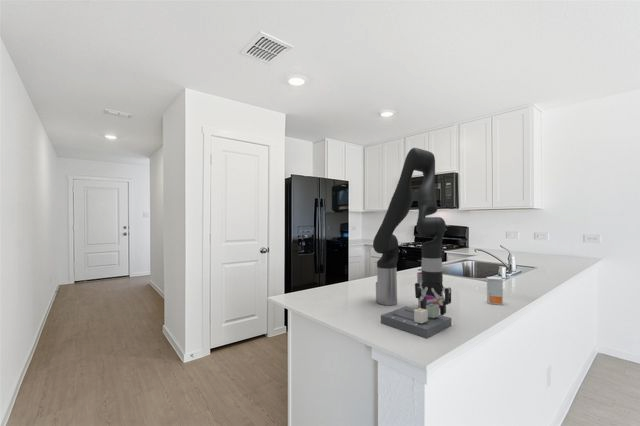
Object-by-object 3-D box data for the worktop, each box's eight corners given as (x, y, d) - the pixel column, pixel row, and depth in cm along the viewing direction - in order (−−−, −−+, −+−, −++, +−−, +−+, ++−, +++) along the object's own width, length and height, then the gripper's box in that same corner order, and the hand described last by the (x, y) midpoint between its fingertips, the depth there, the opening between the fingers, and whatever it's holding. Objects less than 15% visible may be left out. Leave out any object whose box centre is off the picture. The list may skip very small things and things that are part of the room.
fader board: (380, 322, 119) (380, 315, 119) (406, 313, 130) (406, 306, 130) (427, 338, 103) (426, 329, 103) (451, 325, 114) (451, 317, 114)
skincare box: (488, 304, 140) (487, 278, 140) (487, 301, 144) (486, 276, 144) (503, 305, 137) (502, 279, 138) (501, 302, 141) (501, 277, 141)
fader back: (426, 316, 115) (426, 305, 115) (431, 313, 118) (431, 303, 118) (433, 318, 113) (433, 307, 113) (439, 315, 115) (438, 305, 115)
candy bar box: (435, 304, 141) (434, 269, 141) (443, 307, 137) (442, 271, 137) (417, 308, 136) (416, 271, 136) (426, 311, 132) (425, 273, 132)
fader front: (414, 321, 110) (414, 310, 110) (420, 318, 112) (420, 307, 112) (421, 323, 108) (421, 312, 108) (427, 320, 110) (427, 309, 110)
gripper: (455, 270, 112) (456, 314, 112) (420, 265, 123) (421, 306, 123) (444, 273, 107) (446, 319, 107) (409, 268, 118) (411, 310, 118)
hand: (433, 312), depth 115 cm, fingers open, 7 cm apart
